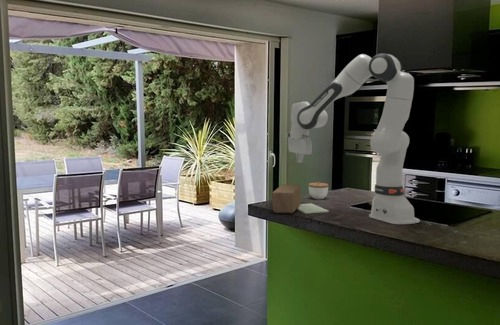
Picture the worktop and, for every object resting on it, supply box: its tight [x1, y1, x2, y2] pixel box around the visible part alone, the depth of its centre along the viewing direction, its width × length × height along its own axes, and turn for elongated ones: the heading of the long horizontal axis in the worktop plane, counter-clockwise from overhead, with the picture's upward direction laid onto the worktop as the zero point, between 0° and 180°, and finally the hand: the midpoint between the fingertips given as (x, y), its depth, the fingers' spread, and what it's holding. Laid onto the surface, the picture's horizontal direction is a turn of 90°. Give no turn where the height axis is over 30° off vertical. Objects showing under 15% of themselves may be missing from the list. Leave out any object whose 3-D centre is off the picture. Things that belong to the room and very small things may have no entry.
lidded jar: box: [308, 180, 329, 200], centre depth 247 cm, size 11×11×9 cm
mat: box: [296, 202, 330, 215], centre depth 220 cm, size 18×12×1 cm, turn 19°
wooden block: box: [271, 183, 302, 214], centre depth 219 cm, size 10×10×20 cm
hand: (299, 162), depth 226 cm, fingers closed
